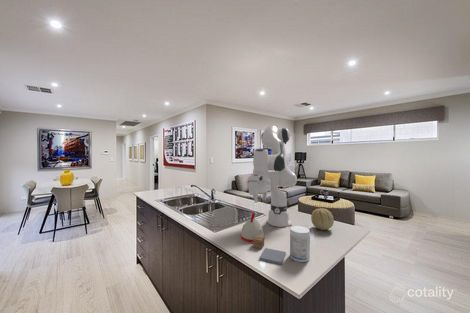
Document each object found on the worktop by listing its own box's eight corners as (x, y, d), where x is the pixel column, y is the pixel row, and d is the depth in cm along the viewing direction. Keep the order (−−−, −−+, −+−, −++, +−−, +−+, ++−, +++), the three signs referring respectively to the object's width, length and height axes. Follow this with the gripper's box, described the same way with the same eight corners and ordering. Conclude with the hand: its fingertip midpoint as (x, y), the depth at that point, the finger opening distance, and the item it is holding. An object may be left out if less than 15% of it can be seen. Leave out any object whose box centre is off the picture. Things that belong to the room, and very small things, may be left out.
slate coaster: (265, 250, 109) (265, 247, 109) (285, 254, 105) (285, 251, 105) (259, 259, 99) (259, 257, 99) (281, 264, 95) (281, 262, 95)
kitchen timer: (264, 234, 130) (265, 211, 130) (261, 243, 117) (262, 218, 117) (243, 232, 134) (244, 209, 134) (238, 240, 120) (239, 216, 120)
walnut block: (255, 244, 117) (255, 235, 117) (264, 245, 115) (264, 237, 115) (252, 247, 112) (253, 238, 112) (261, 249, 110) (261, 240, 110)
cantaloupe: (331, 235, 130) (331, 212, 130) (308, 229, 139) (308, 208, 139) (335, 228, 142) (336, 207, 142) (314, 223, 151) (314, 204, 151)
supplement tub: (295, 251, 108) (295, 224, 108) (312, 257, 102) (313, 229, 101) (286, 258, 101) (286, 229, 101) (304, 265, 95) (305, 234, 94)
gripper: (263, 175, 125) (263, 197, 125) (246, 177, 108) (246, 203, 108) (273, 176, 121) (273, 198, 121) (256, 178, 105) (256, 204, 104)
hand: (260, 200), depth 114 cm, fingers open, 8 cm apart
